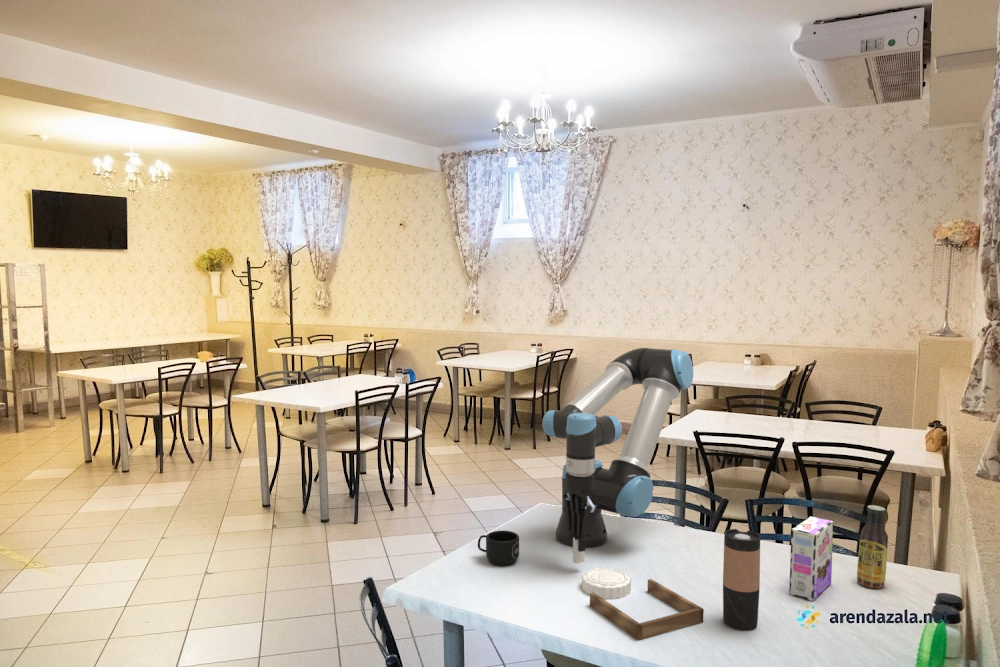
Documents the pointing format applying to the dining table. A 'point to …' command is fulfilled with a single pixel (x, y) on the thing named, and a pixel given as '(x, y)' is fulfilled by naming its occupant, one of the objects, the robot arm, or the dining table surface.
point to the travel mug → (741, 579)
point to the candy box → (811, 558)
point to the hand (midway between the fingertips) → (578, 561)
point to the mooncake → (606, 583)
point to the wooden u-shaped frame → (685, 618)
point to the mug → (501, 547)
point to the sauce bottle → (873, 549)
